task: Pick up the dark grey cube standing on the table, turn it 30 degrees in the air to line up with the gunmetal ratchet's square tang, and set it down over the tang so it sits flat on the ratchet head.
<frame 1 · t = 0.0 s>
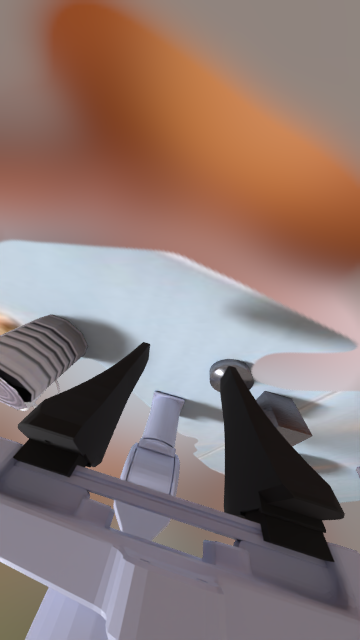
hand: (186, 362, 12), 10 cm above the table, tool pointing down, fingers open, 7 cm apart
dark grey cube: (270, 401, 28), on the table
can: (64, 336, 29), on the table
ratchet: (229, 372, 26), on the table
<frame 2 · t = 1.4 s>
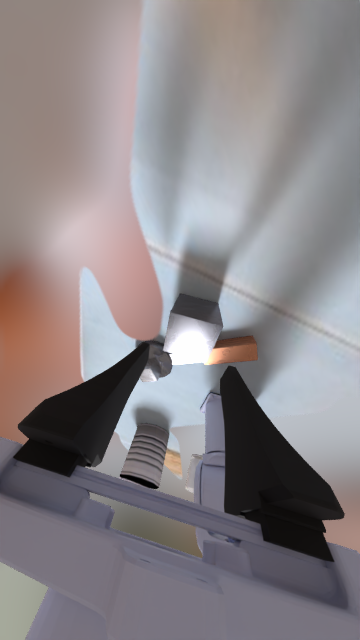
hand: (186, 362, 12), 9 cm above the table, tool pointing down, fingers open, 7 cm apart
dark grey cube: (194, 315, 20), on the table
can: (153, 430, 44), on the table
cup: (200, 455, 48), on the table
ratchet: (155, 356, 26), on the table
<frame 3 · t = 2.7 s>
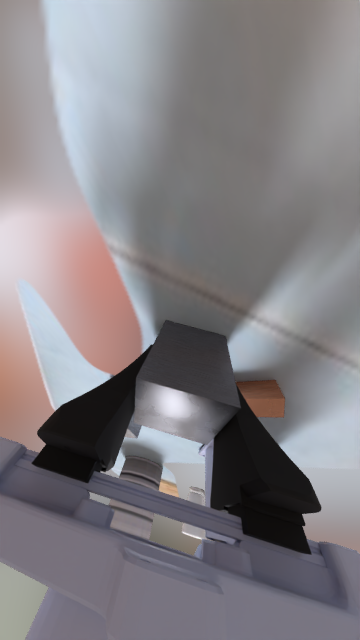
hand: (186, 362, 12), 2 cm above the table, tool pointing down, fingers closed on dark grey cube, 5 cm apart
dark grey cube: (188, 349, 13), on the table, touching gripper
can: (144, 462, 38), on the table
cup: (199, 488, 42), on the table
ratchet: (137, 393, 19), on the table
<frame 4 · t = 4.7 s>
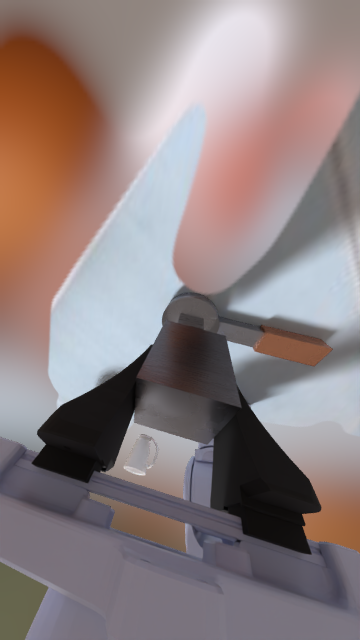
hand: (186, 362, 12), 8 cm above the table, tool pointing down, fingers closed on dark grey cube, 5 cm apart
dark grey cube: (188, 349, 13), point 7 cm above the table, touching gripper
cup: (148, 436, 45), on the table
ratchet: (191, 317, 19), on the table
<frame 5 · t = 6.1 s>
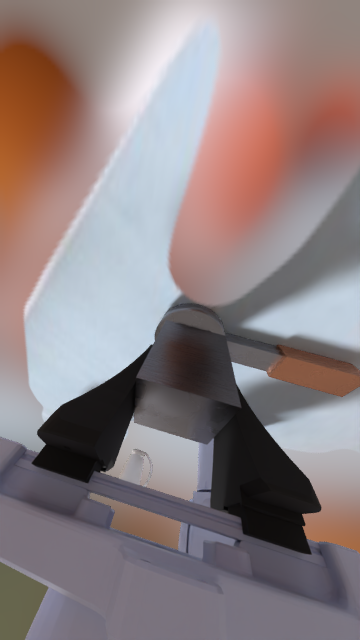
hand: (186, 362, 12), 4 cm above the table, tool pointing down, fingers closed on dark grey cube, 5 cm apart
dark grey cube: (188, 349, 13), point 3 cm above the table, touching gripper
cup: (142, 451, 42), on the table
ratchet: (190, 332, 16), on the table
when the fingers open (4 cm above the table, at t = 7.2 s): dark grey cube stays where it is, resting on ratchet.
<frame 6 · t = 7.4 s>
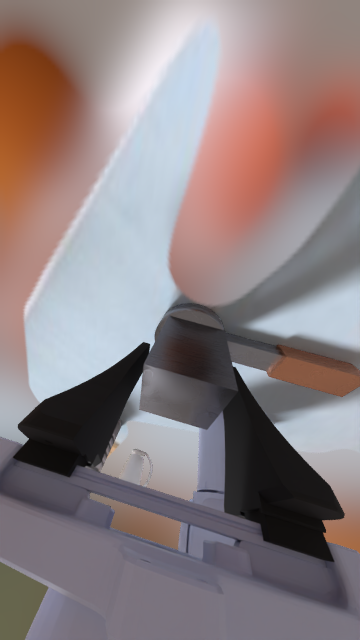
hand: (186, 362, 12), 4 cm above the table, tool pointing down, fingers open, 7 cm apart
dark grey cube: (189, 343, 14), point 2 cm above the table, touching ratchet
cup: (142, 451, 42), on the table
ratchet: (190, 332, 16), on the table, touching dark grey cube
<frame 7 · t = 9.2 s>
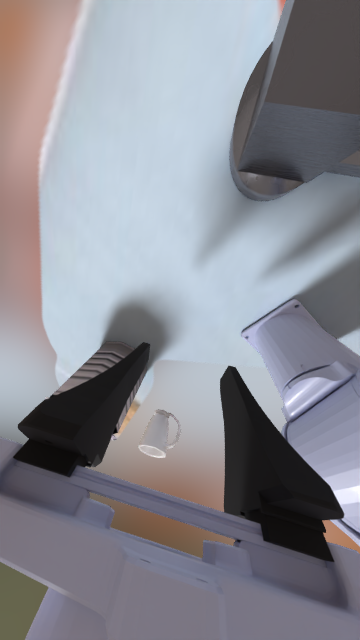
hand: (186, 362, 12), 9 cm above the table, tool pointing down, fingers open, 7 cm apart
dark grey cube: (292, 120, 9), point 2 cm above the table, touching ratchet
can: (123, 360, 29), on the table
cup: (166, 412, 37), on the table
ratchet: (278, 140, 11), on the table, touching dark grey cube
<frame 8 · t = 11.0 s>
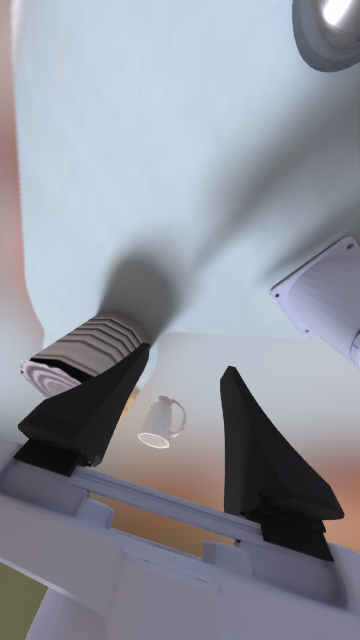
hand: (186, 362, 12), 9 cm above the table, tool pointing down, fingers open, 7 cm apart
can: (123, 335, 25), on the table
cup: (169, 399, 33), on the table
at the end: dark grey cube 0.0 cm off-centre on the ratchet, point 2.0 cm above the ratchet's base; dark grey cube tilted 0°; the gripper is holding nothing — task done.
